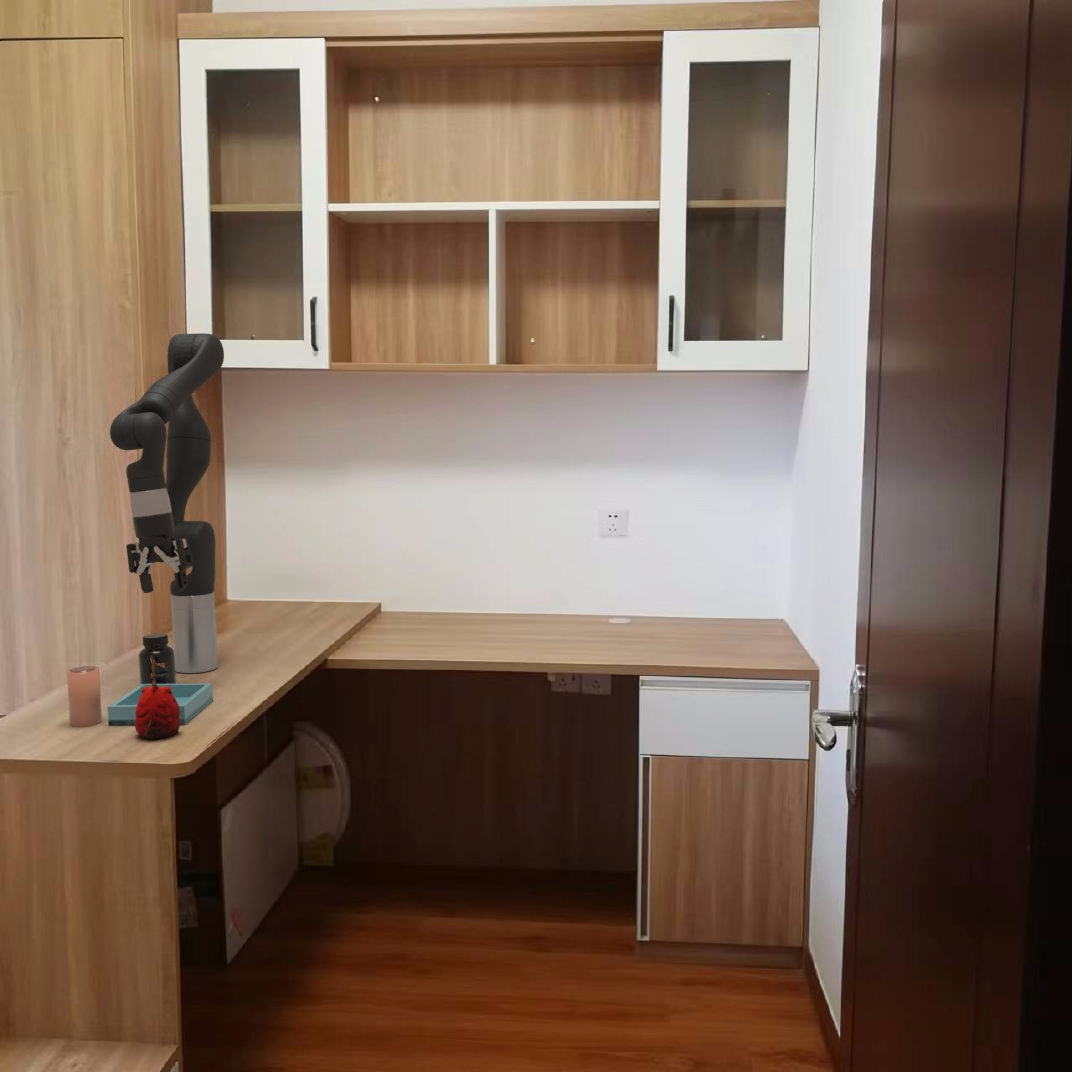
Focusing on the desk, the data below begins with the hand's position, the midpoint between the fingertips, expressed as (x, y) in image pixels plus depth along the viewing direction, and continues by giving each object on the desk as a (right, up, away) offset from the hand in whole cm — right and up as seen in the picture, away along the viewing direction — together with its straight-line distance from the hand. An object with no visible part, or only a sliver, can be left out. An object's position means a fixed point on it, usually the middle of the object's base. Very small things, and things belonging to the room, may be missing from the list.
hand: (165, 591), depth 206 cm
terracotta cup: (-8, -23, -19) cm, 31 cm away
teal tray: (+4, -22, -13) cm, 26 cm away
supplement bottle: (-2, -21, +1) cm, 21 cm away
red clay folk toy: (+9, -24, -27) cm, 38 cm away
